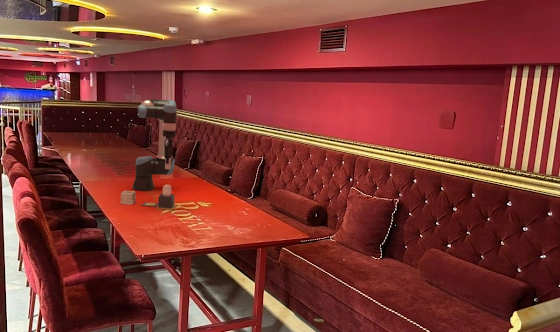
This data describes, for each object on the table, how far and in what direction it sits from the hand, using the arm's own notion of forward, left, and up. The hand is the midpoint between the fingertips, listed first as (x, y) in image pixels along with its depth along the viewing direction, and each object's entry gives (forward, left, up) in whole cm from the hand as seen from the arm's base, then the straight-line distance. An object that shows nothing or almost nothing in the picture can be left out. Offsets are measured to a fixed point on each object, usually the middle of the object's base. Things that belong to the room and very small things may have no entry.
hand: (167, 168), depth 286 cm
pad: (-5, -11, -24) cm, 27 cm away
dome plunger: (0, 0, -19) cm, 19 cm away
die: (-5, -25, -25) cm, 35 cm away
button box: (0, 0, -24) cm, 24 cm away
